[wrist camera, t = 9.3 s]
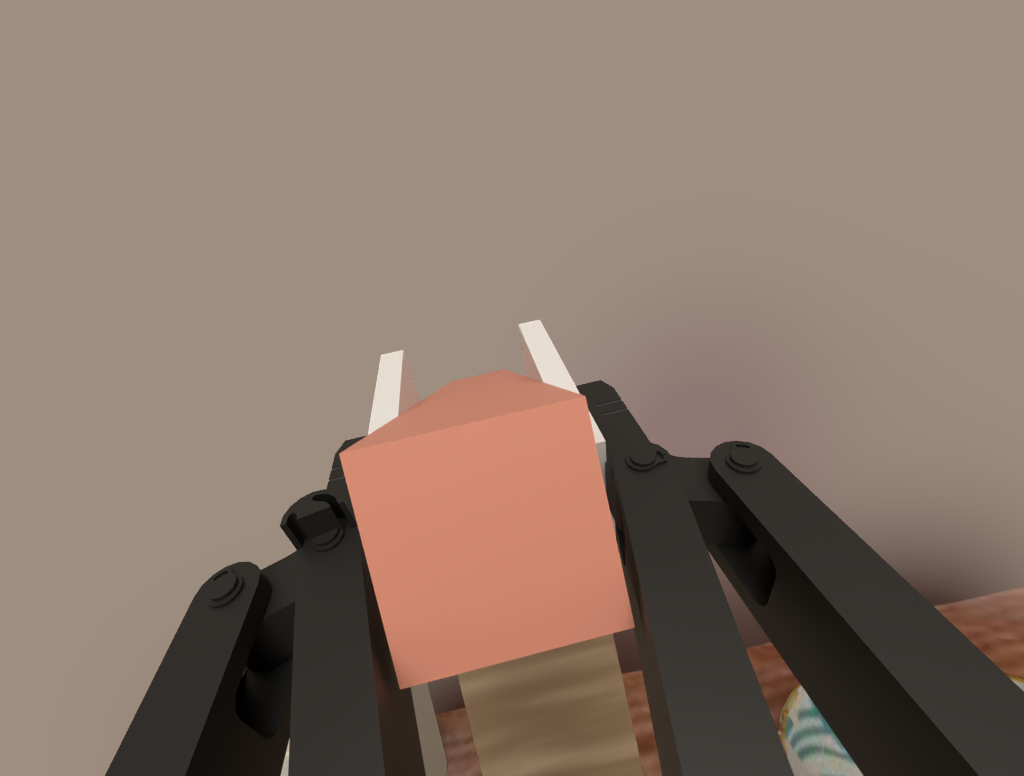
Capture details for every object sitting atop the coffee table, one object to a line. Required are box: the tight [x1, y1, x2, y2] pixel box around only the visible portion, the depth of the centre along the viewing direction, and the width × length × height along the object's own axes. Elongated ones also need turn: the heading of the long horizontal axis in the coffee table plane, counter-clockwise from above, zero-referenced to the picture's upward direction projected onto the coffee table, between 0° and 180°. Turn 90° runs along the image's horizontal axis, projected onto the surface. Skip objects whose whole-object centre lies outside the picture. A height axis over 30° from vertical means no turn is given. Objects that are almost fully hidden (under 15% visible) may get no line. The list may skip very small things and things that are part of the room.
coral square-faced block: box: [339, 370, 635, 689], centre depth 20 cm, size 26×4×4 cm, turn 4°
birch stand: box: [457, 633, 644, 776], centre depth 30 cm, size 15×9×34 cm, turn 4°
